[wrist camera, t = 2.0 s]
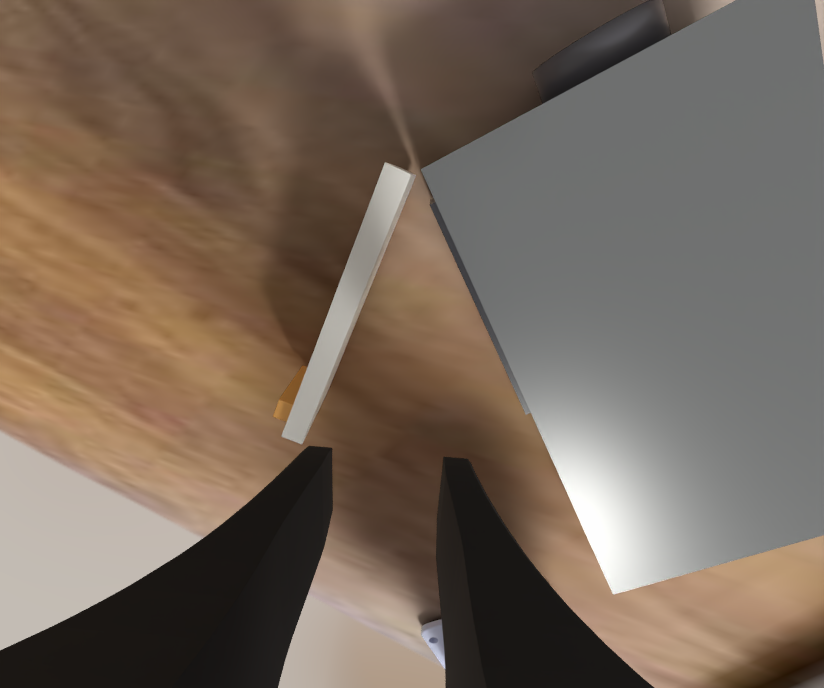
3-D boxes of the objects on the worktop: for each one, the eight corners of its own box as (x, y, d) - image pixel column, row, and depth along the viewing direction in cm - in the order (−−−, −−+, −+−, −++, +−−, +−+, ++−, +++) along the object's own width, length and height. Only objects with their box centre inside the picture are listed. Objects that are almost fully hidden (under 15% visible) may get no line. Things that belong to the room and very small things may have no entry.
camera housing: (789, 444, 20) (886, 517, 15) (574, 515, 22) (608, 595, 17) (689, -9, 14) (802, -90, 10) (407, 147, 16) (397, 137, 12)
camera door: (327, 392, 19) (301, 444, 16) (298, 380, 19) (265, 430, 15) (416, 174, 16) (410, 174, 12) (381, 158, 16) (365, 152, 12)
